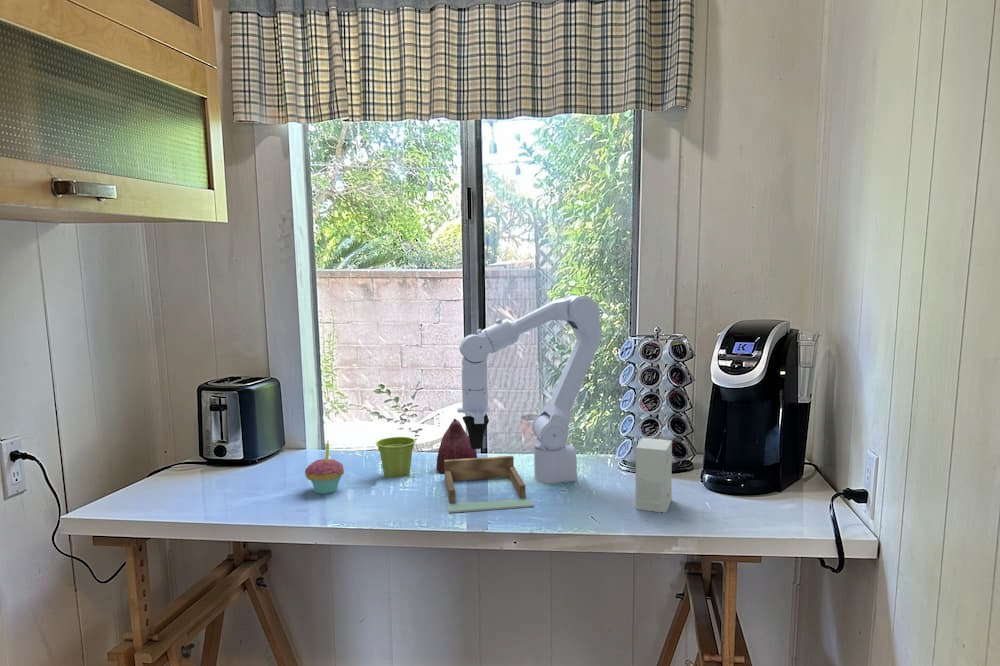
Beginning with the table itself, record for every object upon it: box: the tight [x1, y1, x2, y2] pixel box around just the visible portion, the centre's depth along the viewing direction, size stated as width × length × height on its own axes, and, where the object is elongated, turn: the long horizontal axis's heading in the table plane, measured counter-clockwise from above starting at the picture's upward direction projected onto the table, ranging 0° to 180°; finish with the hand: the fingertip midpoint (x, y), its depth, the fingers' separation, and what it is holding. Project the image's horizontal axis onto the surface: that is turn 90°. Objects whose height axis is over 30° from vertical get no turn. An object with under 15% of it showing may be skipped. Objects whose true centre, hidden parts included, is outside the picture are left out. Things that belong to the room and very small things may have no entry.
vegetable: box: [435, 418, 478, 475], centre depth 154 cm, size 10×10×15 cm
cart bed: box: [444, 455, 527, 504], centre depth 136 cm, size 16×16×6 cm
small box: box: [634, 437, 673, 514], centre depth 128 cm, size 8×6×13 cm
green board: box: [446, 498, 535, 515], centre depth 126 cm, size 17×1×5 cm
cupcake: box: [304, 440, 345, 495], centre depth 141 cm, size 9×8×12 cm
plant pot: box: [375, 436, 416, 479], centre depth 150 cm, size 9×9×9 cm
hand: (476, 448), depth 140 cm, fingers closed
